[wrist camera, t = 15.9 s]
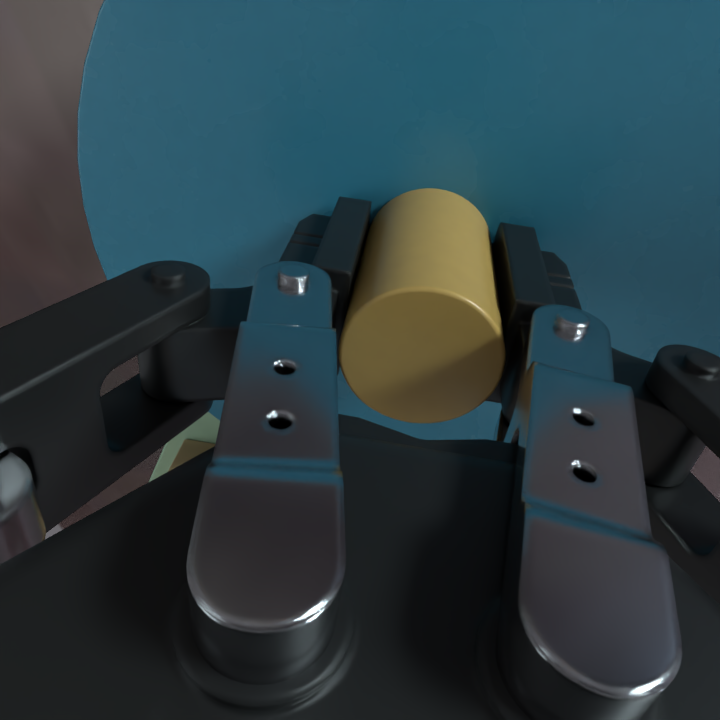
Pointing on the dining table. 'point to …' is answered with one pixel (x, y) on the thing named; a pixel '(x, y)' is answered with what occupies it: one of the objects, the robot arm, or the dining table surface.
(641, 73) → the tin lid
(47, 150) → the dining table surface
